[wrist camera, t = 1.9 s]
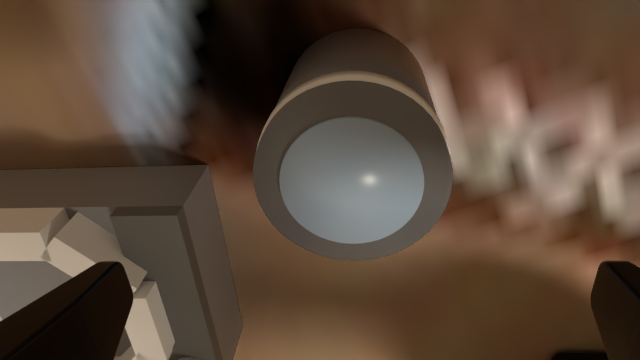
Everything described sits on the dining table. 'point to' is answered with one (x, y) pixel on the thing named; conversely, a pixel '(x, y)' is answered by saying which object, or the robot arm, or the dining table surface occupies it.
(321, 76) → the lens
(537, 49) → the dining table surface
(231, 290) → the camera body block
